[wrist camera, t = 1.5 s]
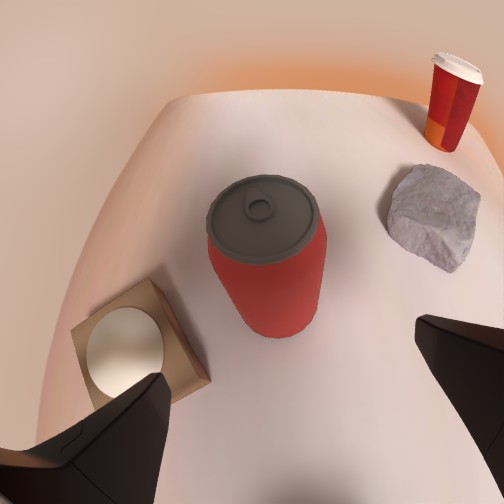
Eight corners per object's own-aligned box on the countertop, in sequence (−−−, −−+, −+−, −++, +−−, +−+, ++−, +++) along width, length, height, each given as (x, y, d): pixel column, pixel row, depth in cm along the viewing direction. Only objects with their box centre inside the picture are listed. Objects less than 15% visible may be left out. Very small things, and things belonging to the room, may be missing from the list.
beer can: (301, 259, 25) (299, 155, 15) (328, 324, 21) (354, 245, 11) (233, 282, 25) (188, 188, 15) (252, 350, 21) (207, 293, 11)
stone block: (374, 246, 27) (458, 283, 21) (376, 212, 23) (473, 251, 17) (408, 185, 31) (475, 210, 25) (410, 154, 27) (483, 180, 22)
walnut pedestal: (211, 381, 20) (198, 377, 18) (122, 428, 19) (101, 427, 16) (162, 291, 26) (147, 276, 23) (88, 339, 24) (69, 329, 21)
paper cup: (461, 140, 31) (482, 68, 20) (460, 164, 29) (488, 81, 17) (420, 121, 35) (434, 46, 23) (413, 142, 32) (430, 56, 20)
